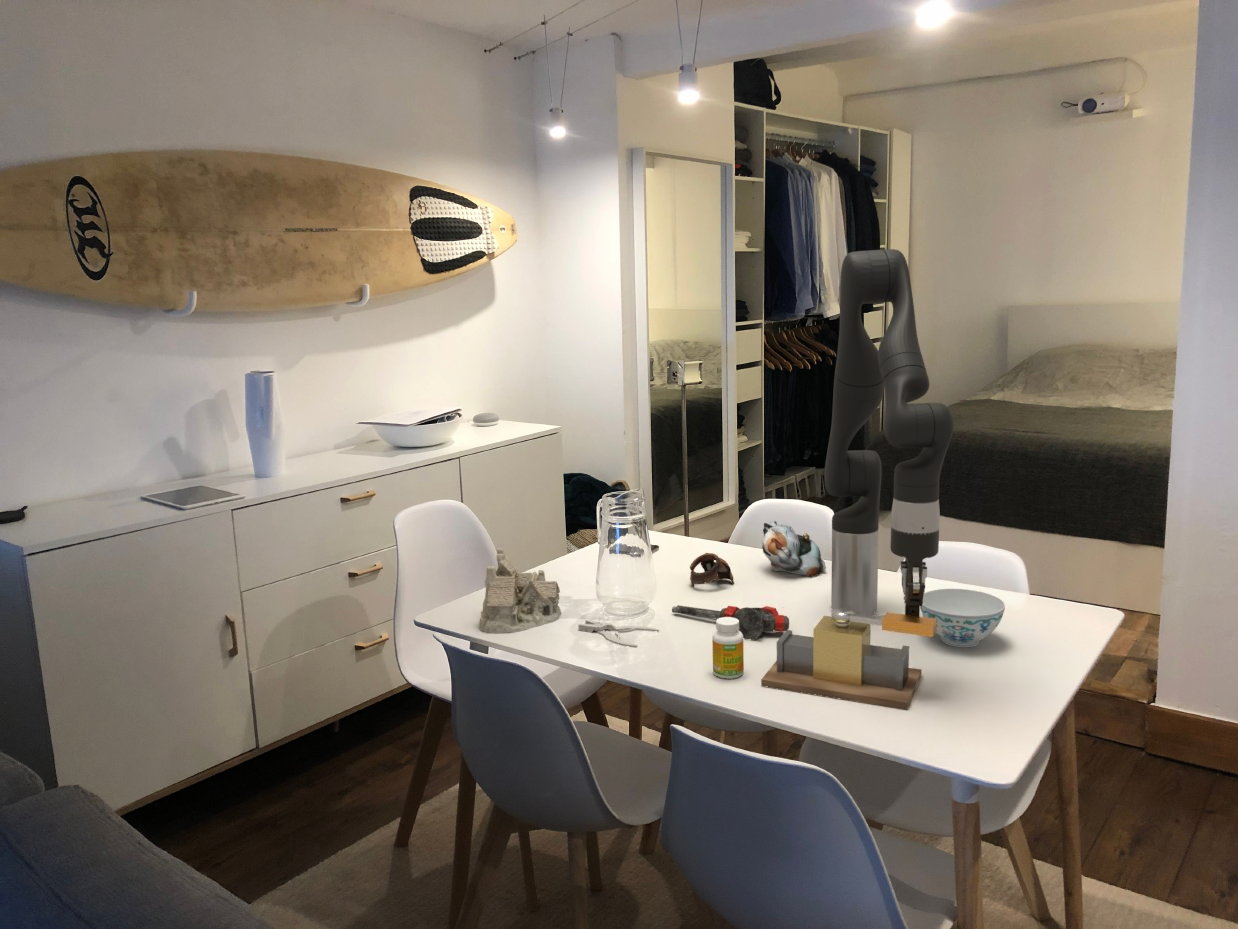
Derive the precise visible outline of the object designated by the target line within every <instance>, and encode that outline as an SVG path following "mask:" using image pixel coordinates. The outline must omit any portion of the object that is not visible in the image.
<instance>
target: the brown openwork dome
mask: <svg viewBox="0 0 1238 929" xmlns="http://www.w3.org/2000/svg"><path fill="white" fill-rule="evenodd" d="M699 564H700V566H701V567H702V569H703V572H696V571H695V568H696V567H697V566H699ZM689 569H690V575H689V576H690V577H689V580H690V583H691V585H692V587H693V586H694V587H695V585H705V584H707V583H711V582H712V581H720V580H729V581H731V585H732V584H734V585H735V581H734V580H735V579H734V574H733V573H732V570H731V566H730V565H729V563H728V562H727V561H726V560H724V559H723V558H721V557H720V556H718V555H717V554H715V553H711V552H705V553H704V554H703V553H702V555H699V556H697V557H696V558H695V559H694V560H693V561H692V562H691V564H690V566H689Z"/></svg>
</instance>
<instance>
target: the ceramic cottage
mask: <svg viewBox="0 0 1238 929" xmlns="http://www.w3.org/2000/svg"><path fill="white" fill-rule="evenodd" d="M496 562H497V569H496V567H495V566H494V565H488V566H487V567H486V577H485V580H484V584H485V585H484V586H485V594H484V595H485V596H484V600H483V603H482V611H481V612H480V618H479V624H478V629H479V631H480V632H483V633H486V634H493V635H497V634H499V635H500V634H502V635H504V634H511V633H518V632H522V631H525V630H530V629H533V628H537V627H540V626H544V625H548V624H552V623H554V622H556V621H558V620H559V619H560V616H561V615H562V611H561V607H560V605H559V603H560V601H559V600H560V598H561V597H560V593H561V591H560V586H559V585H558V584H559V583H557V580H556V581H555V580H553V581H552V580H550V581H547V580H546V575H545V570H544V569H539V570H538V572H536V571H535V570H534V572H518V568H517V567H516V566H515V565H514V564H513V562H511V560H510V559H509V557H508V556H506V554H505V552H504V549H503V547H499V548H497V549H496Z"/></svg>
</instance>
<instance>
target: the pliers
mask: <svg viewBox="0 0 1238 929" xmlns="http://www.w3.org/2000/svg"><path fill="white" fill-rule="evenodd" d="M577 626H578V627H577V628H578V631H580V632H587V633H594V632H596V633H597V634H599V635H602V636H603V637H604V639H606V640H607V641H609V642H611V643H613V644H616V645H618V644H619V646H621V647H622V646H623V647H627V646H629V647H630V648H638V644H634V643H631V642H627V641H623V640H621V636H620V635H619V634H621V633H622V634H623V633H624V634H625V633H631V632H634V631H646V632H647V631H648V632H654V631H657V632H656V633H659V632H660V629H658V628H654V627H649V626H644V625H643V626H642V625H640V626H639V625H621V626H620V625H619V626H615V625H614V624H612V623H611V622H602V623H601V622H600V621H597V620H591V619H585V621H584V623H578V625H577ZM606 630H609V631H610V632H608V631H606ZM658 631H659V632H658ZM611 632H615V633H614V636H616V637H617V638H616V637H614V636H613V634H612V633H611ZM617 632H618V633H619V634H618V633H617Z"/></svg>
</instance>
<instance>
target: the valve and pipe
mask: <svg viewBox="0 0 1238 929" xmlns="http://www.w3.org/2000/svg"><path fill="white" fill-rule="evenodd" d="M871 626H872V624H866V623H858V622H836V621H834V620H832V618H831V616H830V615H823V616H822V618H820V620H819V621H818V622H817V624H816V626H814V628H813V630H812V631H813V635H812V636H808V635H799V634H793V629H790V630H789V629H788V630H786V631H784V632H783V634H782V635H781V636H780V637H779V638H778V640H777V641H776V661H777V672H781V673H783V672H789V673H796V674H802V675H808V676H813V679H818V680H825V681H831V682H837V683H844V684H850V685H857V686H861V685H862V684H867V685H873V686H880V687H886V688H893V689H896V690H897V691H902V690H903V688H904V686H905V684H906V682H907V679H908V677H909V668H910V667H909V666H910V646H909V645H902V647H901V648H896V647H888V646H882V645H881V646H880V645H874V644H871V638H872V637H871V635H872V634H871V632H872V631H871V628H872V627H871Z"/></svg>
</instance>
